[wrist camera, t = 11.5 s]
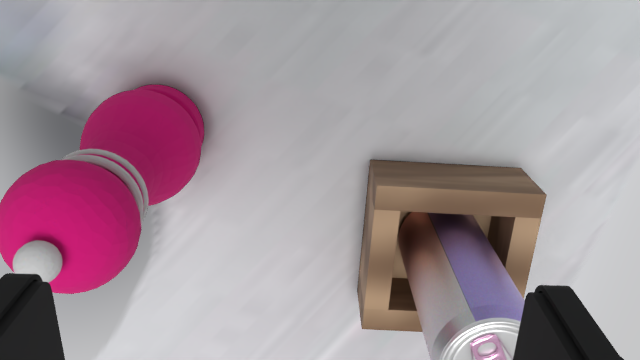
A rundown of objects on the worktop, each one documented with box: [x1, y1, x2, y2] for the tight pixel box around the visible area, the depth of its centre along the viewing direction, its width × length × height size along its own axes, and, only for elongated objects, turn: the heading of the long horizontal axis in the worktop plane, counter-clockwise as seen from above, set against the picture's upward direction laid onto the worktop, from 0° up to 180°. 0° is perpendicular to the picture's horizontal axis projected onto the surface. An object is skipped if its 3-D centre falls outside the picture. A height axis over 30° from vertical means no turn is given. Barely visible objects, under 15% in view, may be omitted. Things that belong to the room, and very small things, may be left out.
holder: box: [357, 160, 546, 332], centre depth 41 cm, size 11×11×5 cm
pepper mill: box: [0, 85, 204, 294], centre depth 31 cm, size 7×7×20 cm
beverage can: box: [398, 212, 525, 360], centre depth 36 cm, size 6×6×15 cm
